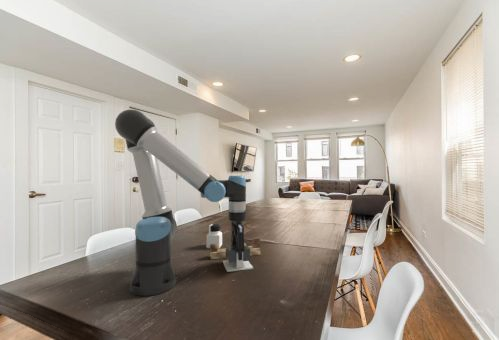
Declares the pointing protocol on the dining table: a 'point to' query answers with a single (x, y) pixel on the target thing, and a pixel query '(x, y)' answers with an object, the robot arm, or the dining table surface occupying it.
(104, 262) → the dining table surface
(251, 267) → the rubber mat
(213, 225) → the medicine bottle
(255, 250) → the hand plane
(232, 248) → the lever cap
